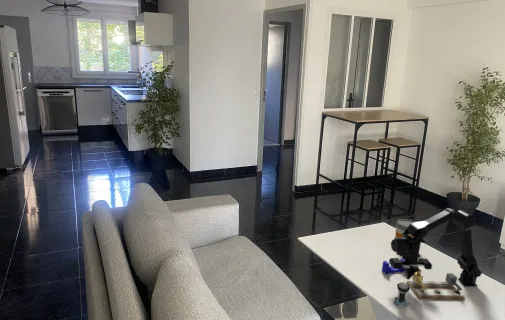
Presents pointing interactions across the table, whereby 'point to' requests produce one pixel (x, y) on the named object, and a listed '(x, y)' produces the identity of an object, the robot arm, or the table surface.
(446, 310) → the table surface
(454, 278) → the fixed leg
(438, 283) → the board
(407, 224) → the reusable coffee cup
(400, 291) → the push button
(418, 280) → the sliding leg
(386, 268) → the cable clip
